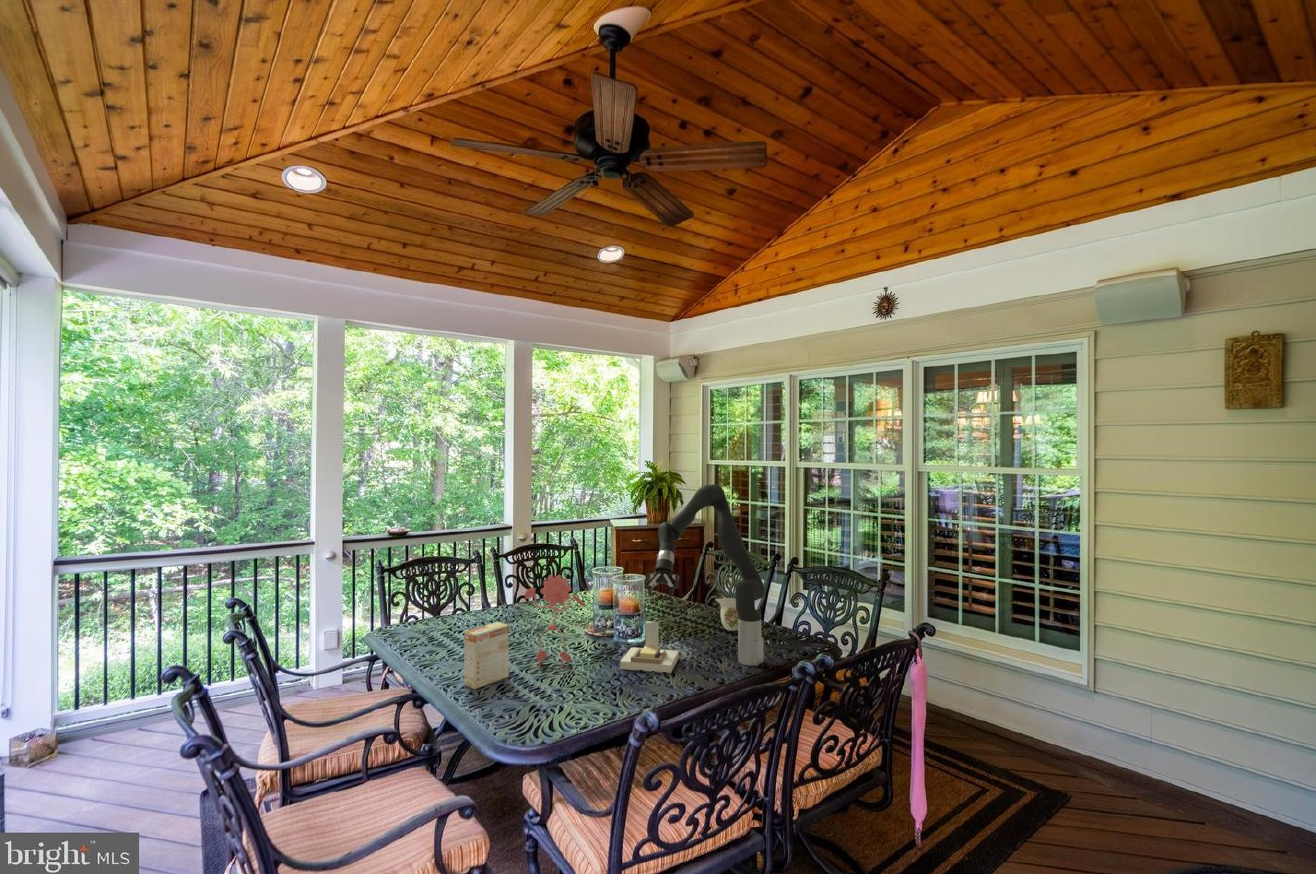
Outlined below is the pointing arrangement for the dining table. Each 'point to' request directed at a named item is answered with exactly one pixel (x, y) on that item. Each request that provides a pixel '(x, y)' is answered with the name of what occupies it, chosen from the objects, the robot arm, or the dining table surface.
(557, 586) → the red stick figure
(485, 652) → the coffeecake box
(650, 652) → the beige l-shaped block
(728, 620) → the pitcher
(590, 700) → the dining table surface
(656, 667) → the dock
